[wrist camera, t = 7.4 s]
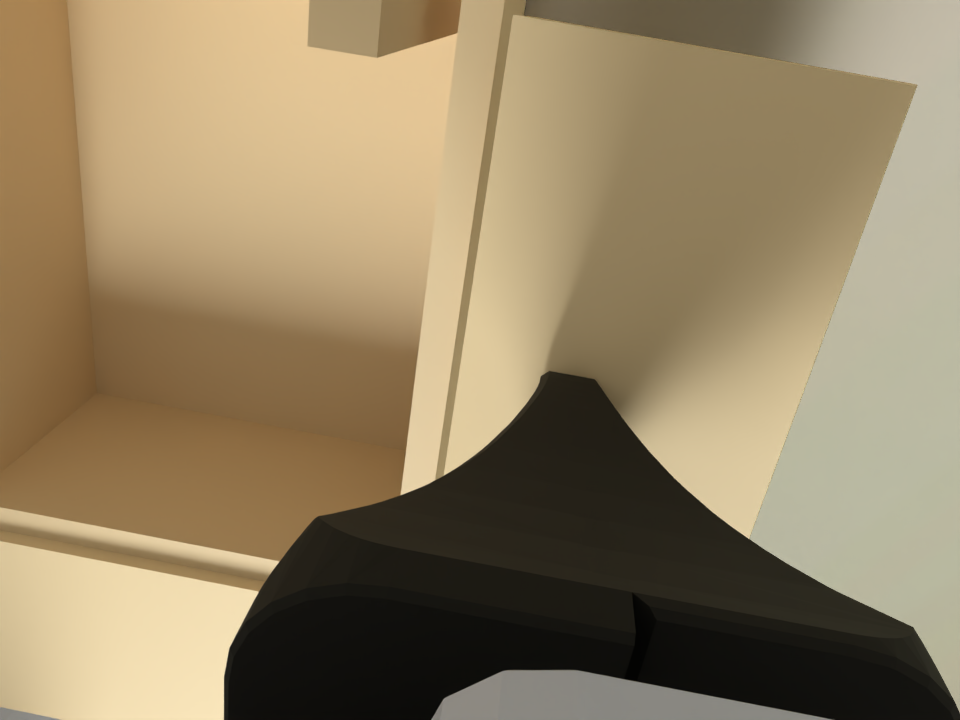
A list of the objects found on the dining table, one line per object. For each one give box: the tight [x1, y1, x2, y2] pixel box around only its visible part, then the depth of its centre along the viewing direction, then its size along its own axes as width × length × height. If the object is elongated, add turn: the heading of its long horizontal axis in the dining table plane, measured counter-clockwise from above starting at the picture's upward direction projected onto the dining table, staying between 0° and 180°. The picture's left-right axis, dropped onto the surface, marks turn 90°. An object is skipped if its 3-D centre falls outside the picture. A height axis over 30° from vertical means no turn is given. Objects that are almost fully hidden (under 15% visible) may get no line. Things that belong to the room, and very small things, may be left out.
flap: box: [444, 15, 917, 539], centre depth 12 cm, size 10×5×1 cm, turn 172°
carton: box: [0, 0, 526, 720], centre depth 15 cm, size 22×15×8 cm
